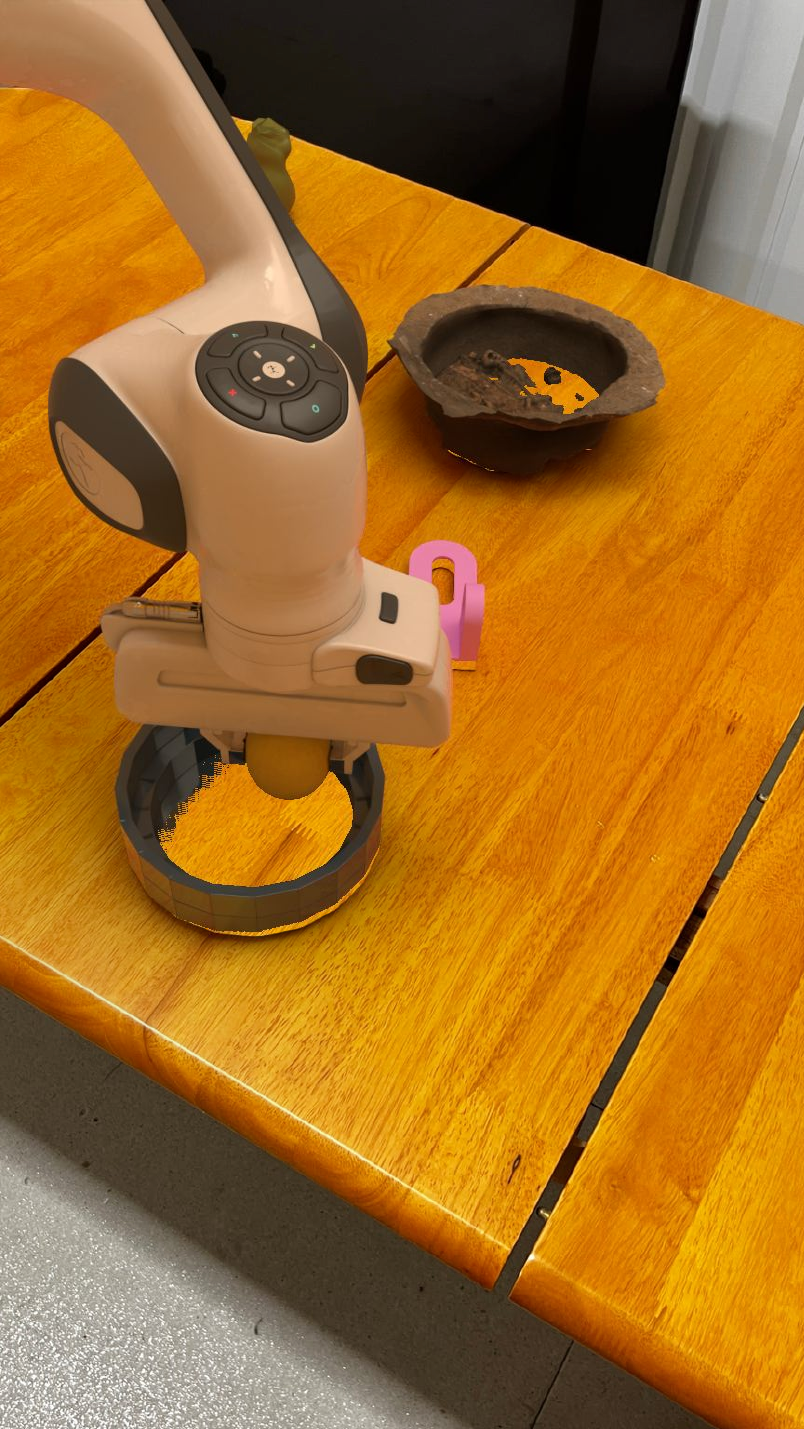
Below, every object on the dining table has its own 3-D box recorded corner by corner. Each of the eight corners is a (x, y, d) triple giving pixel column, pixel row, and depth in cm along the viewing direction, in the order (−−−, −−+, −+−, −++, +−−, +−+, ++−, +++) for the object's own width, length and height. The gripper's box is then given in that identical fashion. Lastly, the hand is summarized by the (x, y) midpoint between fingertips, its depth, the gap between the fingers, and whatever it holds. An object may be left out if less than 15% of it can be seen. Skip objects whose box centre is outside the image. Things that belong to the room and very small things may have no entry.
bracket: (475, 671, 96) (484, 609, 90) (404, 666, 96) (409, 604, 90) (475, 554, 104) (483, 491, 98) (409, 550, 103) (414, 486, 98)
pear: (234, 212, 130) (228, 116, 122) (273, 197, 133) (270, 102, 125) (266, 236, 128) (262, 140, 120) (306, 220, 131) (305, 125, 122)
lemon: (326, 751, 84) (326, 675, 77) (336, 818, 81) (336, 745, 74) (245, 758, 83) (237, 682, 76) (251, 826, 80) (244, 753, 73)
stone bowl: (456, 531, 105) (461, 439, 97) (350, 377, 119) (347, 286, 111) (702, 466, 112) (724, 376, 104) (574, 328, 126) (585, 240, 118)
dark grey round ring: (104, 931, 80) (89, 884, 76) (153, 722, 91) (143, 669, 86) (370, 952, 81) (373, 907, 76) (389, 742, 91) (393, 691, 86)
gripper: (82, 638, 66) (118, 787, 77) (461, 671, 66) (441, 813, 78) (106, 556, 69) (137, 709, 80) (465, 588, 70) (446, 735, 81)
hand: (289, 760), depth 79 cm, fingers closed on lemon, 5 cm apart
